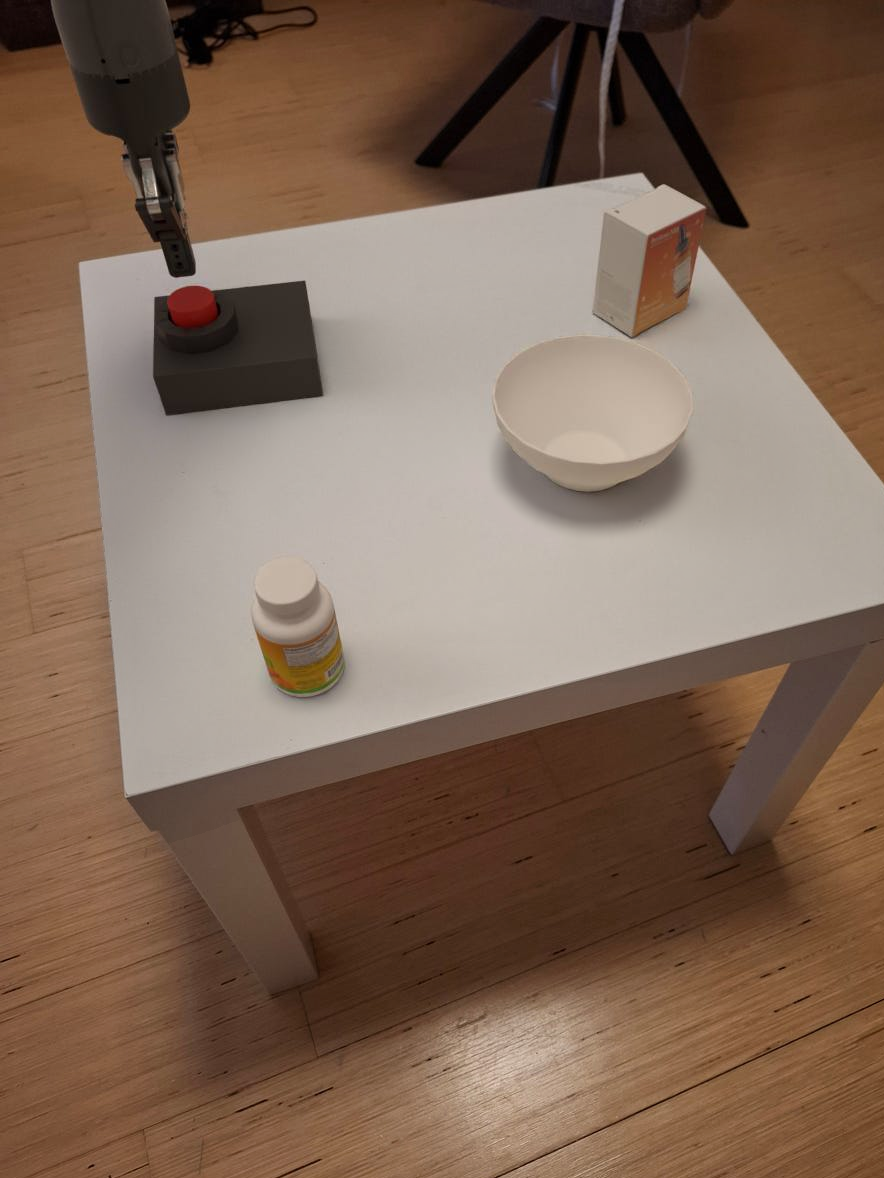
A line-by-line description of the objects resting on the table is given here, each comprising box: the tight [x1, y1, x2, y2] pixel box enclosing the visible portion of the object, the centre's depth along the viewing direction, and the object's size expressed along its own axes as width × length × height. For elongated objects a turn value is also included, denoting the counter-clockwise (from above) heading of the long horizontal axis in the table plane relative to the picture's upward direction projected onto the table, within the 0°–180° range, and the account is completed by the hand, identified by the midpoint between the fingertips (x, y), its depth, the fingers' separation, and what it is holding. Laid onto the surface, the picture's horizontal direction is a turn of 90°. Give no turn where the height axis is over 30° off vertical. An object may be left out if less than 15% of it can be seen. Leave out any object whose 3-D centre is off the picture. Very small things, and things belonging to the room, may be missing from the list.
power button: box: [167, 285, 218, 328], centre depth 82 cm, size 4×4×2 cm
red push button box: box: [152, 279, 324, 416], centre depth 86 cm, size 14×12×6 cm
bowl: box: [491, 333, 695, 493], centre depth 77 cm, size 16×16×7 cm
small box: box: [592, 183, 707, 338], centre depth 89 cm, size 8×6×10 cm
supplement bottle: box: [250, 556, 345, 698], centre depth 63 cm, size 5×5×10 cm
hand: (183, 272), depth 80 cm, fingers closed
